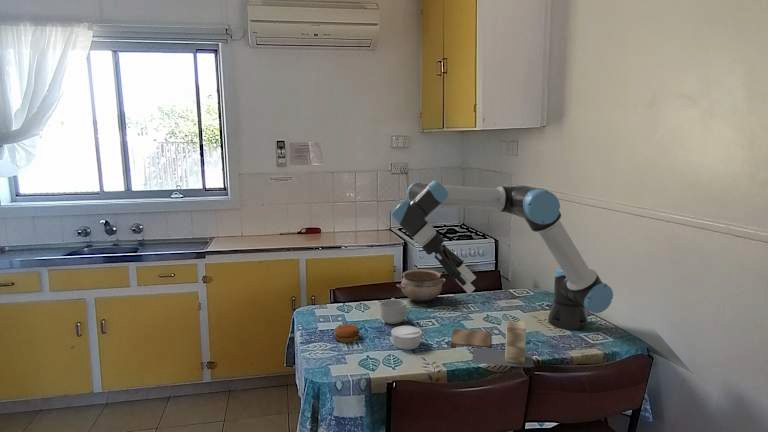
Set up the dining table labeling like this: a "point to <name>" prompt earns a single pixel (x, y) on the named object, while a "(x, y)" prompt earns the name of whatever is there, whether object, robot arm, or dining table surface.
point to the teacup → (393, 310)
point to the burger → (347, 333)
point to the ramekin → (406, 337)
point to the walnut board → (470, 338)
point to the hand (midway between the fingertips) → (472, 285)
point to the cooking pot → (421, 284)
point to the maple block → (515, 341)
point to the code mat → (498, 358)
